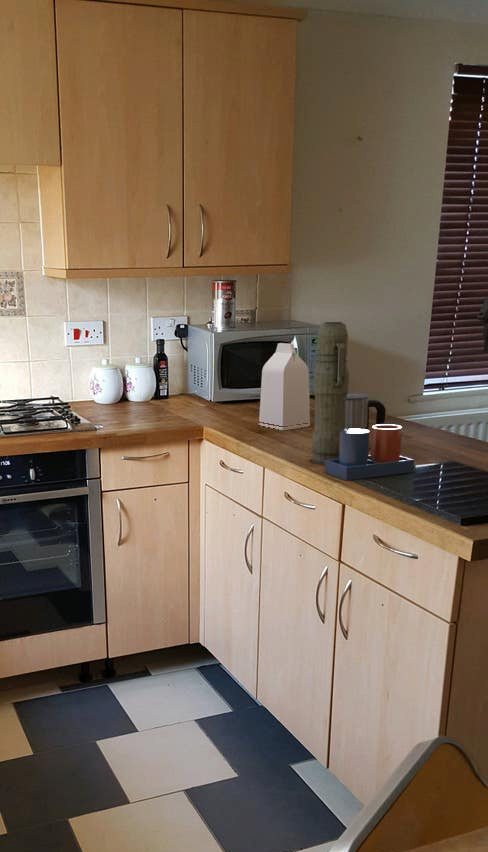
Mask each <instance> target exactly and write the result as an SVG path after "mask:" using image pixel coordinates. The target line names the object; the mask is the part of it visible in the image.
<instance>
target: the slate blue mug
mask: <svg viewBox="0 0 488 852" xmlns="http://www.w3.org/2000/svg"><path fill="white" fill-rule="evenodd" d="M369 448H370V429H369V430H365V429H343V430H340V438H339V464H341V465H344V466H347V467H351V466H359V465H368V455H369V450H370V449H369Z"/></svg>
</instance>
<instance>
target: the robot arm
mask: <svg viewBox="0 0 488 852" xmlns="http://www.w3.org/2000/svg"><path fill="white" fill-rule="evenodd" d="M476 319H477V320H478V321H480V322H481V323H482V324H483V329H482V338H484V341H483V350H482V351H483V353H488V295H487V296H486V297H485V300H484V302H483V304H482V306H481V308H480V310H479V311H478V313H477V315H476Z"/></svg>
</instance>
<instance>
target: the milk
mask: <svg viewBox="0 0 488 852" xmlns="http://www.w3.org/2000/svg"><path fill="white" fill-rule="evenodd" d="M309 370H310V369H309V366H308V365H307V363H306V362H304V360H303V359H302V358H301V357H300V356H299V355H298V353H297V352H296V348H295V345H294V343H285V342H279V343H277V346H276V349H275V352H274V353H273V354H272V356H271V357H270V358H269V359H268V360H267V361H266V362H265V363H264V365H263V367H262V369H261V384H260V400H259V401H260V402H259V415H258V426H259V425H261V426H260V427H262V426H265V427H264V428H268V427H270V428H269V429H273V428H275V429H274V430H278V429H279V431H287V430H288V431H289V430H294V429H295V430H296V429H302V428H308V426H309V427H311V409H310V408H311V406H310V405H311V404H310V371H309ZM259 421H260V422H264V423H269V424H274V425H279V426H288V427H279V426H273V425H268V424H263V423H259ZM303 423H308V424H303ZM296 424H301V425H296ZM289 425H294V426H289ZM301 427H302V428H301Z"/></svg>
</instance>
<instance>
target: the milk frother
mask: <svg viewBox="0 0 488 852" xmlns="http://www.w3.org/2000/svg"><path fill="white" fill-rule="evenodd" d="M369 397H370V395H369V394H366V393H348V394H347V396H346V421H345V429H365V430H369V431H370V428H369V427H370V408H375V411H376V416H375V425H385V423H386V412H387V410H386V406H385V405H384V403H383V402H381V401H380V400H378V399H374V398H373V399H369Z"/></svg>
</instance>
